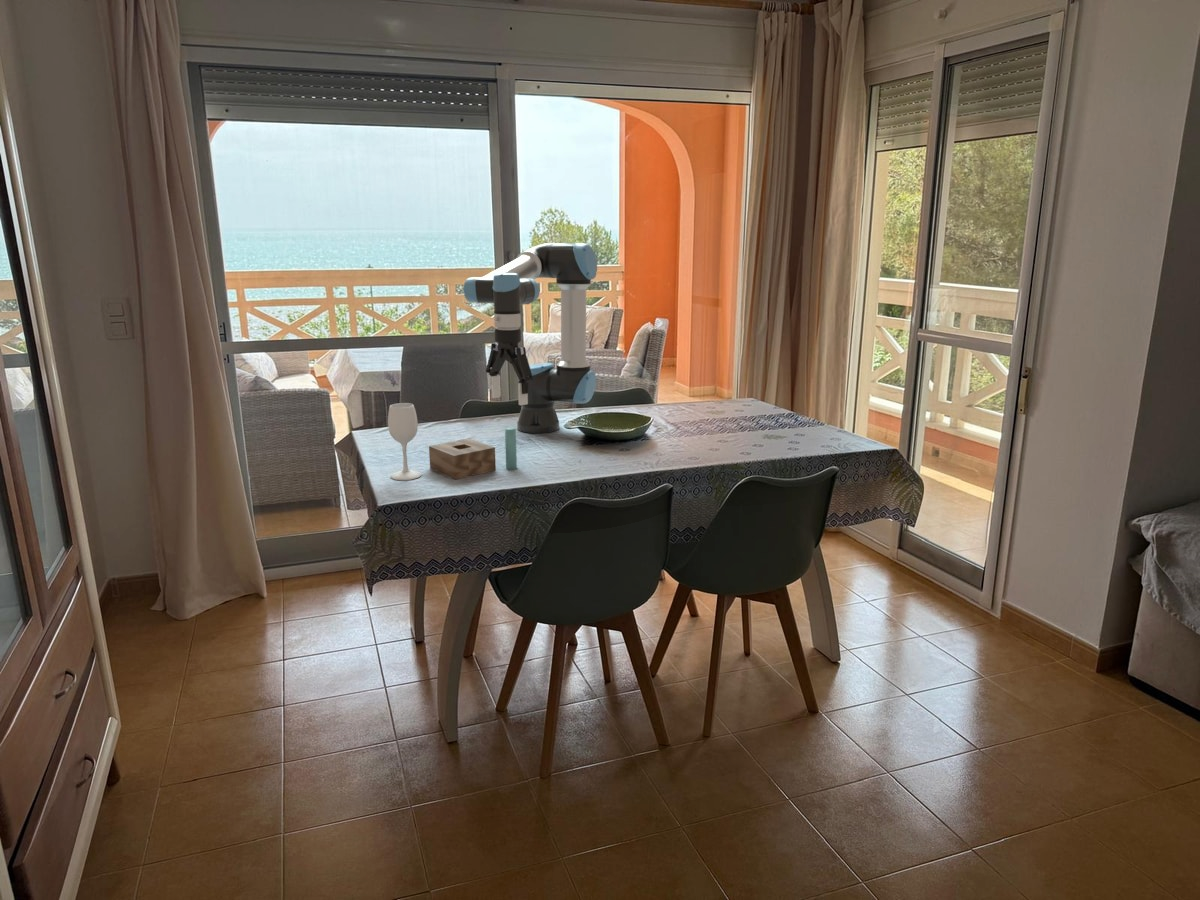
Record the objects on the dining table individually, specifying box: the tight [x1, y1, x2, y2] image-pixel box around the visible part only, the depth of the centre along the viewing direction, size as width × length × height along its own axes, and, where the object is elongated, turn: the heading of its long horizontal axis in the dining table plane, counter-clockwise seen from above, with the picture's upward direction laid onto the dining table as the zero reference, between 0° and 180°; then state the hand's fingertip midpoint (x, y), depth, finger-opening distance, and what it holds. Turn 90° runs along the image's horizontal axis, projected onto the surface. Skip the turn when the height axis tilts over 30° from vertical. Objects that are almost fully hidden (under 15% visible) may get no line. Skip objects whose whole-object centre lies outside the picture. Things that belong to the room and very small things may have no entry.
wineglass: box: [387, 402, 422, 481], centre depth 229 cm, size 9×9×21 cm
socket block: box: [428, 438, 497, 480], centre depth 238 cm, size 14×14×7 cm
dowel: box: [504, 427, 518, 470], centre depth 239 cm, size 3×3×12 cm
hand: (509, 401), depth 235 cm, fingers open, 13 cm apart
